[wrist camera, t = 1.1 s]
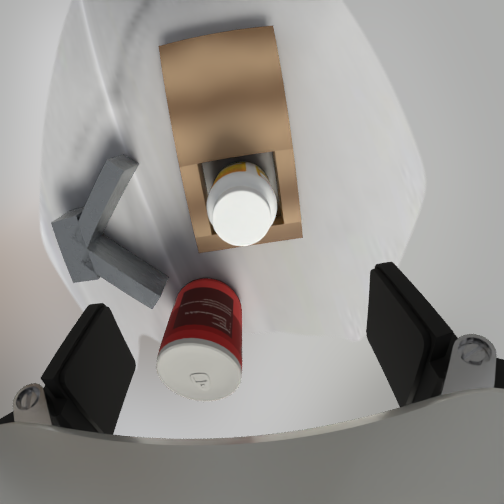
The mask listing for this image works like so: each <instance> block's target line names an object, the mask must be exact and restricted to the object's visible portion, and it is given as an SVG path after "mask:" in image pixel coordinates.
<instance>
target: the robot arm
mask: <svg viewBox="0 0 504 504" xmlns="http://www.w3.org/2000/svg"><path fill="white" fill-rule="evenodd" d="M366 332H367V338H368V341H369V343H370V345H371V346H372V349H373V351H374V353H375V355H376V357H377V359H378V361H379V363H380V365H381V367H382V369H383V372H384V374H385V376H386V378H387V380H388V382H389V384H390V386H391V388H392V391H393V393H394V395H395V397H396V399H397V401H398V404H399V406H400V408H397V409H393V410H390V411H386V412H383V413H379V414H375V415H371V416H367V417H363V418H358V419H354V420H350V421H346V422H341V423H337V424H332V425H327V426H322V427H316V428H311V429H305V430H298V431H292V432H284V433H277V434H268V435H259V436H248V437H234V438H214V439H165V438H164V439H163V438H162V439H161V438H144V437H143V438H142V437H130V436H120V435H113V433H114V429H115V426H116V423H117V420H118V417H119V414H120V411H121V408H122V405H123V402H124V399H125V396H126V393H127V390H128V387H129V385H130V382H131V379H132V376H133V374H134V371H135V367H136V364H135V360H134V358H133V356H132V354H131V352H130V350H129V348H128V346H127V344H126V342H125V340H124V338H123V336H122V334H121V332H120V329H119V327H118V325H117V323H116V321H115V319H114V316H113V314H112V312H111V310H110V308H109V307H106V305H105V304H103V303H100V304H90V305H89V306H88V307H87V308H86V309H85V311H84V312H83V314H82V315H81V317H80V318H79V319H78V321H77V322H76V324H75V325H74V327H73V328H72V330H71V331H70V333H69V334H68V336H67V337H66V339H65V340H64V342H63V343H62V345H61V346H60V348H59V349H58V351H57V352H56V354H55V356H54V357H53V359H52V360H51V362H50V364H49V365H48V367H47V368H46V370H45V372H44V373H43V375H42V377H41V379H42V381H43V382H44V384H45V387H44V388H43V387H42V386H41V385H40V384H36V383H33V384H29V385H26V386H24V387H23V388H22V389H20V390H19V392H18V393H17V394H16V396H15V398H14V400H13V412H11V413H10V414H8V415H6V416H5V417H3V418H1V419H0V504H504V360H503V359H499V358H496V349H495V348H494V346H493V344H492V343H491V342H490V341H489V340H487V339H486V338H485V337H483V336H480V335H476V334H467V335H463V336H461V337H459V338H457V337H456V335H455V334H454V333H453V331H452V330H451V329H450V327H449V326H448V325H447V324H446V323H445V321H444V320H443V319H442V318H441V316H440V315H439V314H438V313H437V312H436V310H435V309H434V308H433V307H432V306H431V304H430V303H429V302H428V301H427V300H426V299H425V298H424V296H423V295H422V294H421V293H420V292H419V291H418V290H417V289H416V287H415V286H414V285H413V284H412V283H411V282H410V281H409V280H408V278H407V277H406V276H405V275H404V274H403V273H402V272H401V271H400V270H399V269H398V268H397V266H396V265H395V264H394V263H393V262H387V263H381V264H376V266H375V269H372V270H371V272H370V289H369V305H368V318H367V330H366Z"/></svg>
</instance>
